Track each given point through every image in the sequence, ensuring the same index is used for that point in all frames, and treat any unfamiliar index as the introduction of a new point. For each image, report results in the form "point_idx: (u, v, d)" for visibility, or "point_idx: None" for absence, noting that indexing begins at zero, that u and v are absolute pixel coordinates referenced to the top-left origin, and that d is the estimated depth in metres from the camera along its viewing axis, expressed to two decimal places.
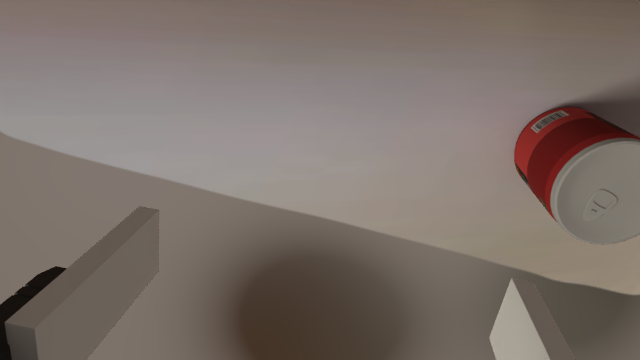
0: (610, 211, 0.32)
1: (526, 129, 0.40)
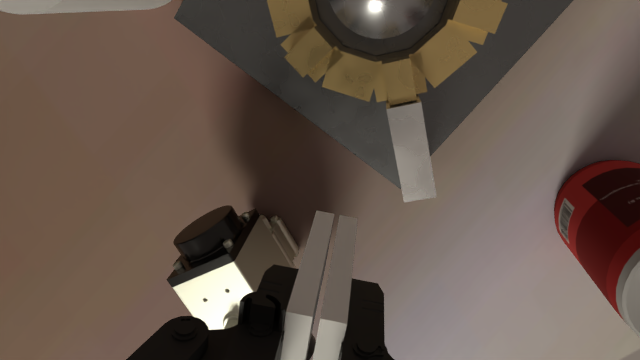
0: None
1: (559, 233, 0.34)
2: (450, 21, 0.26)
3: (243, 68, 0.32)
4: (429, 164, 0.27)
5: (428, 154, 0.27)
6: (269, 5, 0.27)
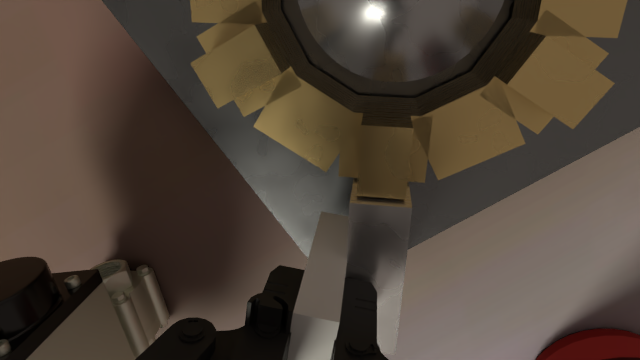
0: None
1: None
2: (497, 80, 0.15)
3: (139, 42, 0.19)
4: (397, 305, 0.16)
5: (400, 290, 0.16)
6: None
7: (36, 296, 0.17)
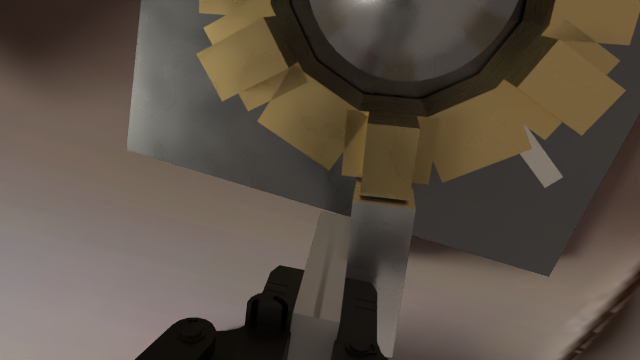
0: None
1: None
2: (506, 83, 0.14)
3: None
4: (396, 308, 0.16)
5: (400, 293, 0.15)
6: None
7: None
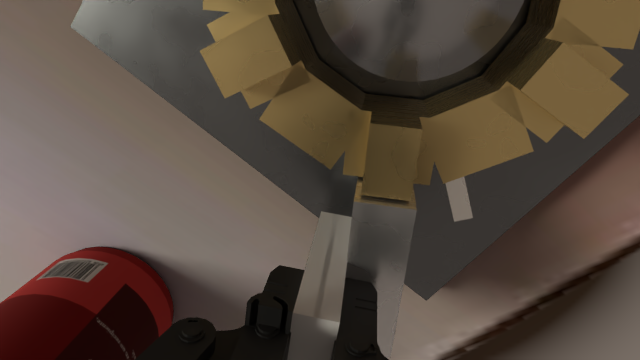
0: None
1: (60, 258, 0.24)
2: (509, 86, 0.14)
3: None
4: (395, 308, 0.16)
5: (399, 293, 0.15)
6: None
7: None
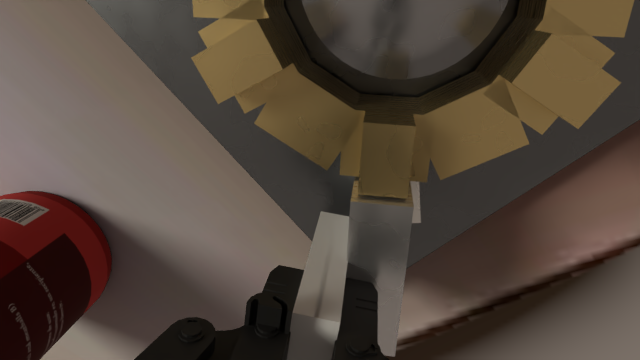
0: None
1: None
2: (501, 79, 0.14)
3: None
4: (397, 306, 0.16)
5: (400, 291, 0.15)
6: None
7: None
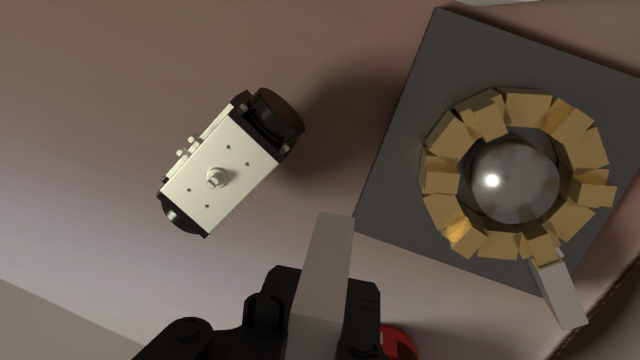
0: None
1: None
2: (570, 197, 0.35)
3: (409, 80, 0.36)
4: (578, 302, 0.35)
5: (576, 295, 0.35)
6: (429, 211, 0.36)
7: (299, 136, 0.32)
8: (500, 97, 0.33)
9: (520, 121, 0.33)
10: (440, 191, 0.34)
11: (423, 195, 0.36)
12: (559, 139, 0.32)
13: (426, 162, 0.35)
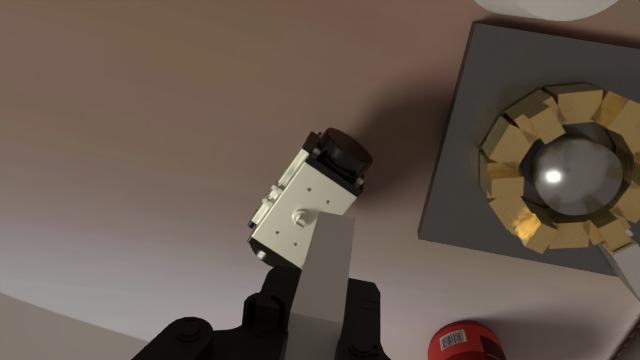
0: None
1: (436, 338, 0.48)
2: None
3: (458, 93, 0.38)
4: None
5: None
6: (497, 213, 0.38)
7: None
8: (552, 99, 0.34)
9: (574, 118, 0.35)
10: (506, 195, 0.36)
11: (488, 199, 0.38)
12: (616, 131, 0.33)
13: (488, 169, 0.37)
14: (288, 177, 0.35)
